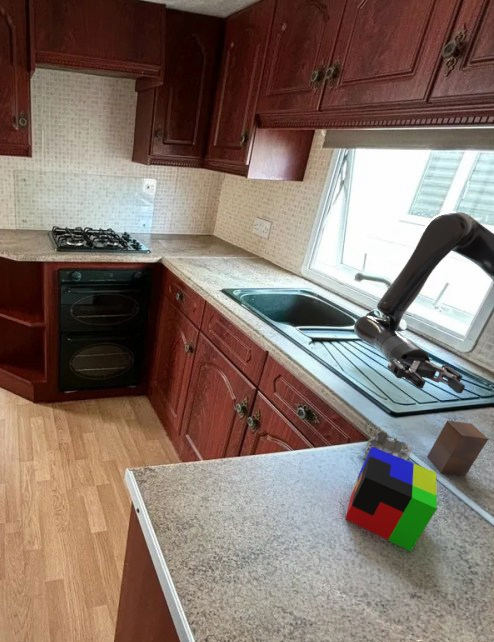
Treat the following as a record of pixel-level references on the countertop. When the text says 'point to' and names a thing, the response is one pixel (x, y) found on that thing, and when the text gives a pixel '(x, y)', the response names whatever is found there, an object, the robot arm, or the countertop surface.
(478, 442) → the walnut block
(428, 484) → the puzzle toy
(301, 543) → the countertop surface
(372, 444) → the egg carton
